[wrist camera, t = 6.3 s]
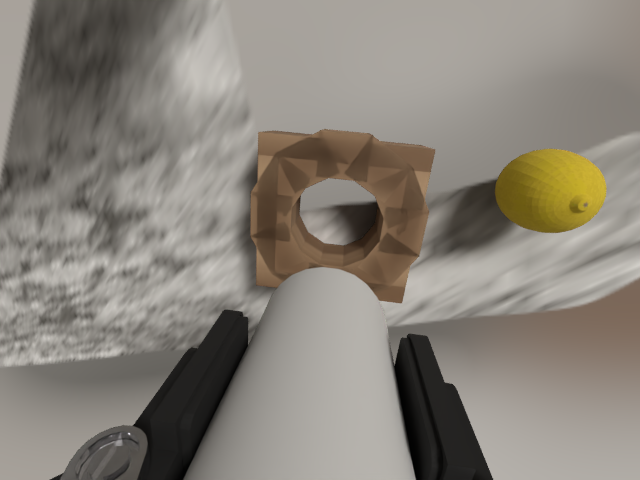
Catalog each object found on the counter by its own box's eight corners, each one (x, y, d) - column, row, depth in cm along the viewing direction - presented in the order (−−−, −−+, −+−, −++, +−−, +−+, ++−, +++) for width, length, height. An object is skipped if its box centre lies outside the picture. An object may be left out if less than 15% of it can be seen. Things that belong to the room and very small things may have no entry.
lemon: (542, 213, 26) (622, 250, 18) (473, 213, 26) (523, 249, 19) (559, 144, 24) (656, 154, 16) (484, 145, 24) (545, 155, 17)
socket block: (267, 123, 25) (250, 123, 21) (428, 138, 24) (445, 142, 20) (263, 266, 30) (249, 289, 26) (398, 282, 29) (407, 309, 25)
